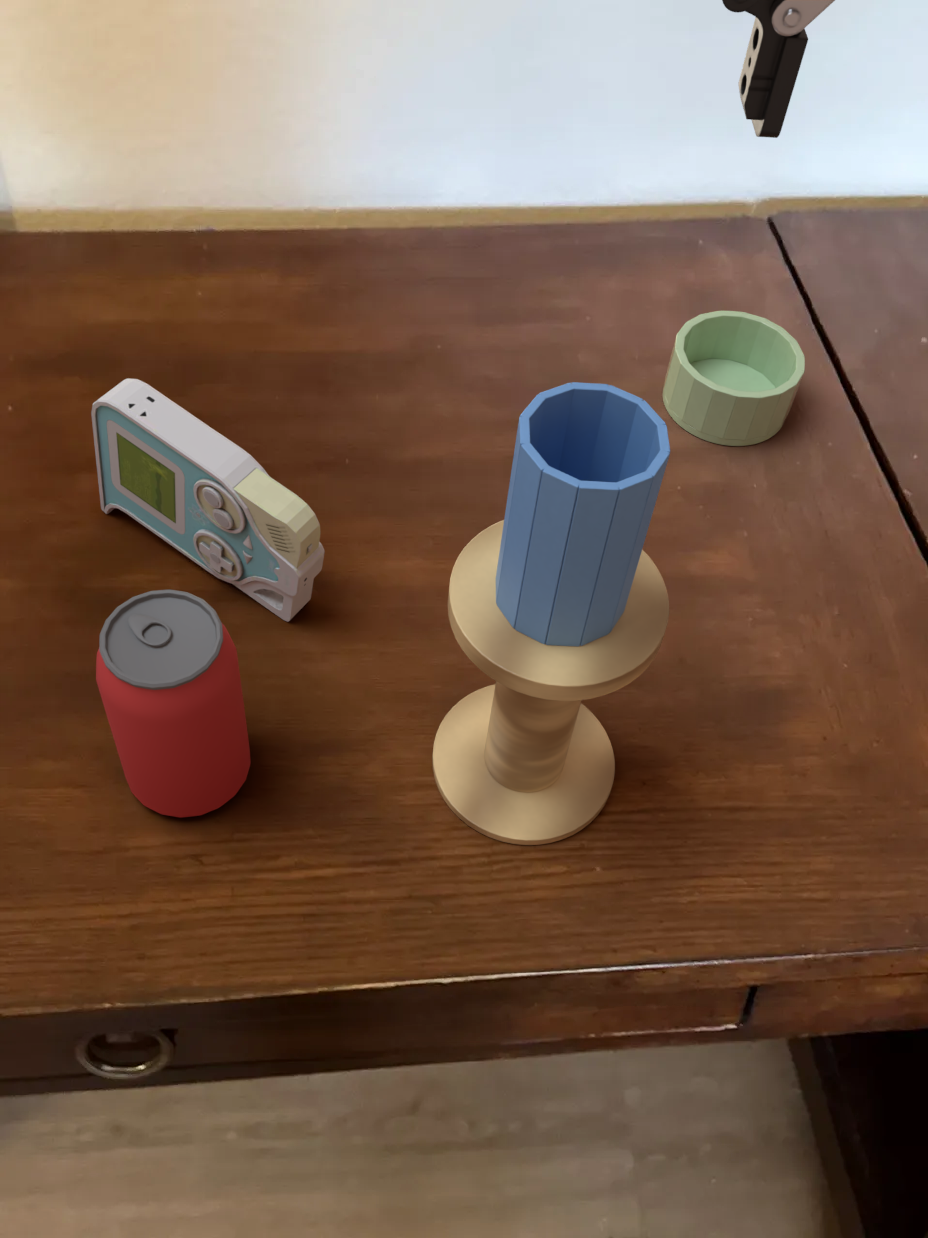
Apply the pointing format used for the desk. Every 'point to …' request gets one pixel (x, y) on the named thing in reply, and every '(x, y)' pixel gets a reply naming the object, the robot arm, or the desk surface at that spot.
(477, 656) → the stand
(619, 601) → the blue cup
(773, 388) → the green cup
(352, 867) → the desk surface
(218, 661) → the beer can
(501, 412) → the desk surface
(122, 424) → the handheld gaming console
